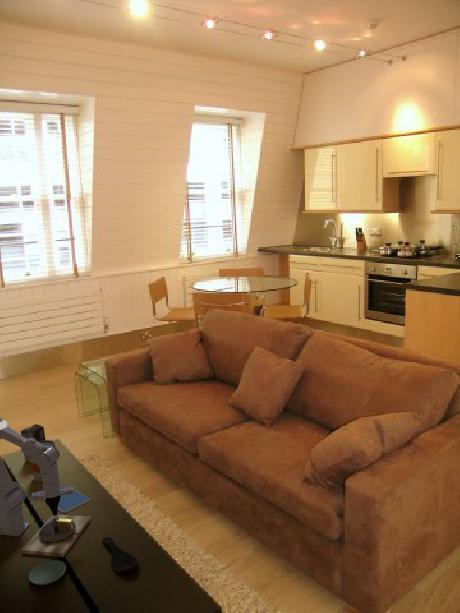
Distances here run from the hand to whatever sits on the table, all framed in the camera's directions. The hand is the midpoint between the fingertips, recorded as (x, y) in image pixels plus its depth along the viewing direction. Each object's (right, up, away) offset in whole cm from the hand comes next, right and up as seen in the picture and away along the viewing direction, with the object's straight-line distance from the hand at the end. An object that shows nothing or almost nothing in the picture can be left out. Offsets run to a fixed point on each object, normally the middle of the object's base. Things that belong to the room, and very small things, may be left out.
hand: (55, 514), depth 200 cm
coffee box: (-30, +2, +65) cm, 71 cm away
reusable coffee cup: (-20, -1, +47) cm, 51 cm away
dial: (0, -7, +2) cm, 8 cm away
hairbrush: (+25, -11, -11) cm, 30 cm away
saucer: (+4, -14, -20) cm, 24 cm away
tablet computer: (-4, -5, +27) cm, 28 cm away
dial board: (0, -9, +2) cm, 9 cm away
